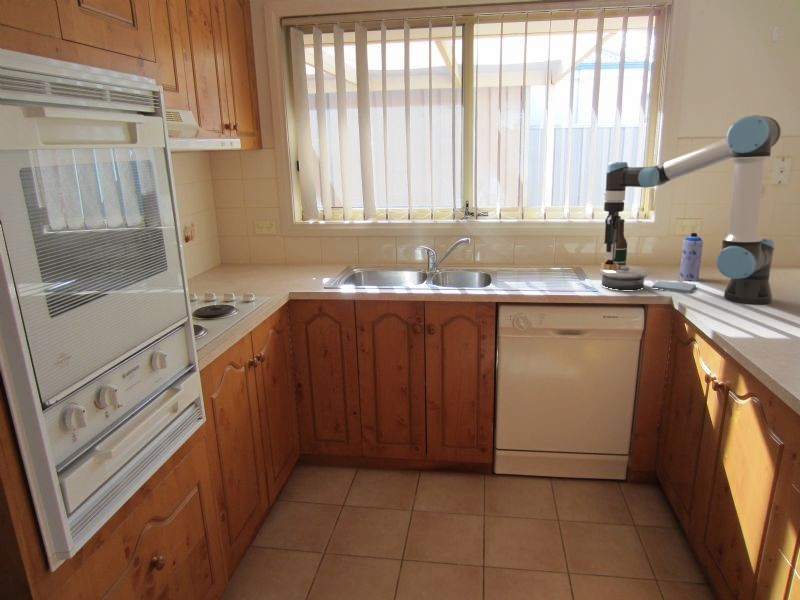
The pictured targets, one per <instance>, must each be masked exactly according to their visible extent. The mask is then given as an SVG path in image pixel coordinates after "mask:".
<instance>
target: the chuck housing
mask: <svg viewBox="0 0 800 600" xmlns="http://www.w3.org/2000/svg"><path fill="white" fill-rule="evenodd" d="M601 276H602V277H601V286H602V285H603V286H605V287H608V288H612V289H618V290H638V289H641V288H643V289H644V287H645V284H644V283H645V278H640V279H619V278H611V277H606V276H603V275H601Z"/></svg>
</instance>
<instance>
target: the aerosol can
mask: <svg viewBox="0 0 800 600" xmlns="http://www.w3.org/2000/svg"><path fill="white" fill-rule="evenodd" d="M703 241H704V240H703V239H702V237H700V236H699V235H698V233H697V232H691V233H690V235H689V236H687V237H685V239H683V241H682V242H683V243H682V251H681V257H680V258H681V261H680V268H679V269H680V270H679V276H678V278H679V277H680V278H681V279H684V280H698V281H700V278H699V277H700V271H701V270H700V268H701V262H702V261H701V260H702V253H703V247H704V246H703V245H704V242H703ZM684 280H683V281H684Z"/></svg>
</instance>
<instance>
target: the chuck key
mask: <svg viewBox="0 0 800 600" xmlns="http://www.w3.org/2000/svg"><path fill="white" fill-rule="evenodd" d="M615 238H616V229H614V237H613V244H614V245H613V258H612V260H607V259H605V262H606V264H613V263H614V250H615Z"/></svg>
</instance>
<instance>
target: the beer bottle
mask: <svg viewBox="0 0 800 600" xmlns="http://www.w3.org/2000/svg"><path fill="white" fill-rule="evenodd" d="M625 221H626V220H625V219H624V218H620V224H619V234H618V240H617V241H618V242H615V243H616V250H615V258H614V263H618V265H625V266H627V255H628V242H627V239H626V238H625V234H624V233H625Z"/></svg>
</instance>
